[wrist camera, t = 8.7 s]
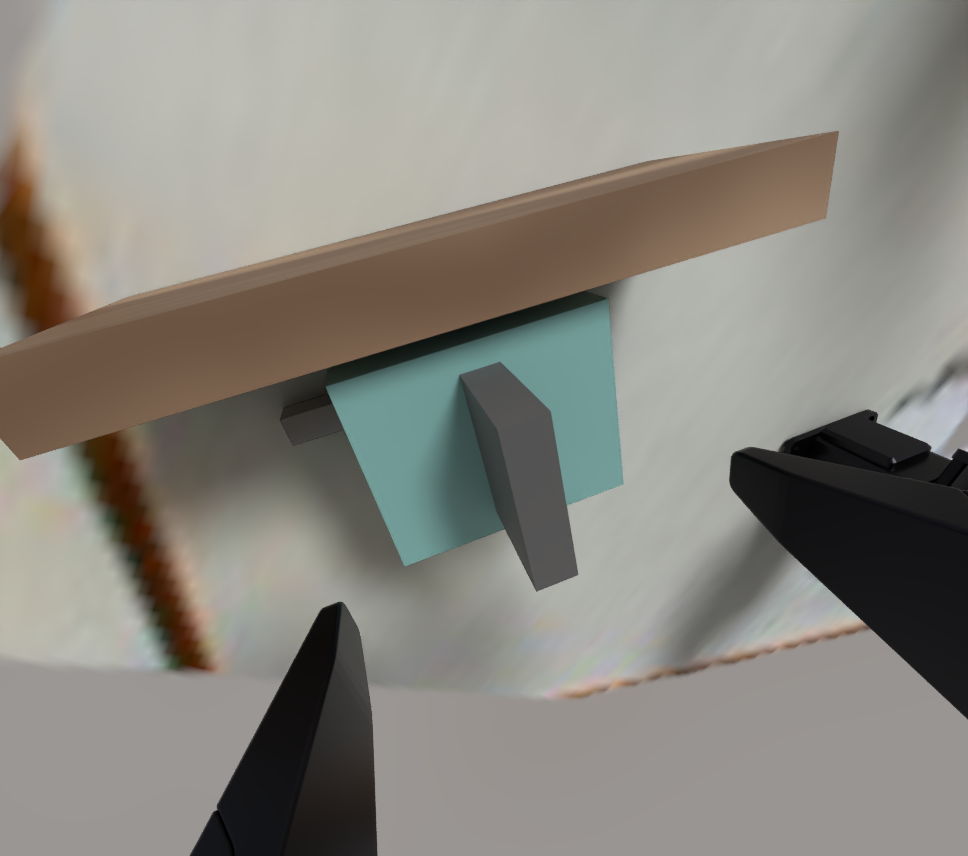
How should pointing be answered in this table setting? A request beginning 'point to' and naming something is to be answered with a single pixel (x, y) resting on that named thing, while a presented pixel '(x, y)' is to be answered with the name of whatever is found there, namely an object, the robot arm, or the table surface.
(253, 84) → the table surface
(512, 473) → the teal handled box
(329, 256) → the brown wooden beam
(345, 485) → the table surface
